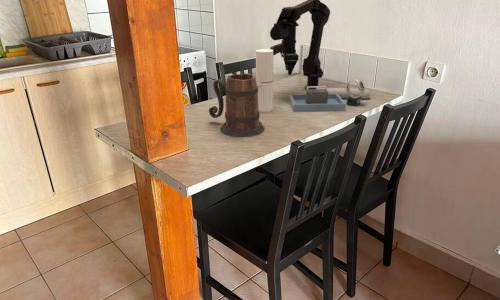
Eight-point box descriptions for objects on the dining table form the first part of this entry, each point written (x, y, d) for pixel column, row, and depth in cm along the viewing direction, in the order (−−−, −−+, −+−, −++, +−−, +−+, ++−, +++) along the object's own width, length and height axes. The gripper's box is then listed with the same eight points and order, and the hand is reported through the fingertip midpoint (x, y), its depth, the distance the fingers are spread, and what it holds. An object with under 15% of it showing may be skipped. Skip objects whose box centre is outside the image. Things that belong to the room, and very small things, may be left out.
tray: (289, 100, 172) (289, 94, 171) (336, 99, 172) (337, 93, 171) (293, 111, 157) (293, 104, 156) (345, 110, 157) (345, 104, 156)
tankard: (273, 125, 143) (273, 74, 134) (249, 140, 130) (248, 84, 121) (223, 115, 154) (221, 67, 146) (197, 128, 141) (193, 76, 133)
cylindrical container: (271, 112, 157) (271, 52, 147) (254, 111, 158) (254, 51, 148) (273, 107, 163) (274, 49, 153) (257, 106, 165) (257, 48, 154)
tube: (369, 88, 174) (315, 87, 177) (371, 88, 169) (316, 86, 172) (368, 100, 175) (315, 98, 178) (371, 99, 170) (315, 98, 173)
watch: (360, 107, 161) (363, 82, 157) (342, 104, 165) (345, 80, 161) (364, 103, 166) (367, 79, 161) (347, 101, 170) (349, 77, 165)
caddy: (305, 102, 167) (305, 84, 163) (325, 101, 166) (326, 84, 163) (306, 105, 162) (307, 87, 159) (327, 105, 162) (328, 87, 159)
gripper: (269, 35, 173) (269, 68, 180) (272, 41, 156) (272, 77, 163) (293, 34, 174) (292, 68, 180) (299, 40, 157) (298, 77, 163)
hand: (288, 72), depth 172 cm, fingers open, 9 cm apart
